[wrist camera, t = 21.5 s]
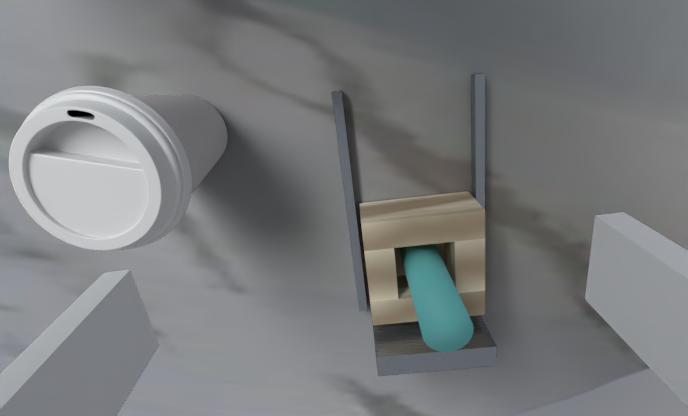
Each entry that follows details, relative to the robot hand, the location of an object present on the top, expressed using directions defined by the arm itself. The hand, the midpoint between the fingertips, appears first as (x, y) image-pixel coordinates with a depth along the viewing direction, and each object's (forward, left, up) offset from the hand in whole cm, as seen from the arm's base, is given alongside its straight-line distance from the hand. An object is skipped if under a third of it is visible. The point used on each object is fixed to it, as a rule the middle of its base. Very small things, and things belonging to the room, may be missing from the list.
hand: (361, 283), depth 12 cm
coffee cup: (-2, -14, -25) cm, 29 cm away
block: (+12, +5, -25) cm, 28 cm away
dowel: (+12, +5, -24) cm, 27 cm away
